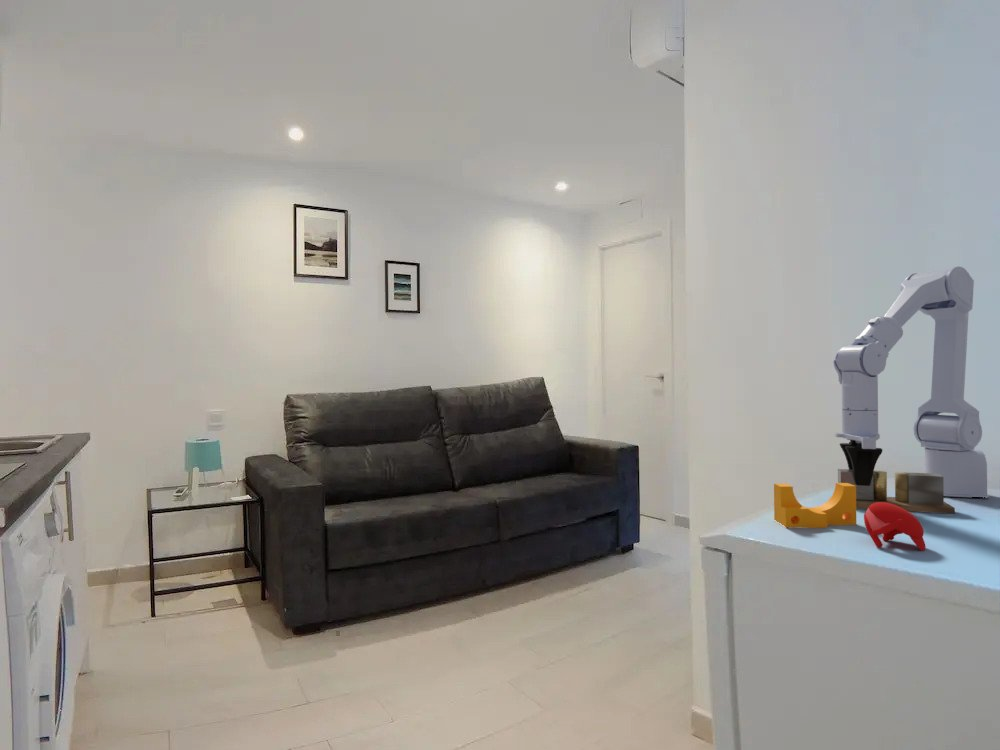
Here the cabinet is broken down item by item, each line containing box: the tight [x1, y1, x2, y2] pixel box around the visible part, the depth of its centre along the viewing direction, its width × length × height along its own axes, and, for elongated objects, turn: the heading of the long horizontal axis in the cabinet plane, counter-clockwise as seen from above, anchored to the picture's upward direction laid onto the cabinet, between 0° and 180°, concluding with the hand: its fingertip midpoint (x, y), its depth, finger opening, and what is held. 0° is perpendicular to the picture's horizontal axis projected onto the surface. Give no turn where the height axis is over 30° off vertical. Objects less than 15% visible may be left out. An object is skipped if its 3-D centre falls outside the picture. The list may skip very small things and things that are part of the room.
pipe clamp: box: [773, 482, 857, 529], centre depth 98 cm, size 12×4×6 cm, turn 88°
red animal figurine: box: [863, 502, 926, 552], centre depth 86 cm, size 8×6×6 cm
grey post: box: [837, 468, 888, 500], centre depth 111 cm, size 8×3×5 cm, turn 70°
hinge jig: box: [856, 472, 956, 514], centre depth 109 cm, size 17×7×6 cm, turn 70°
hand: (860, 483), depth 111 cm, fingers open, 3 cm apart
